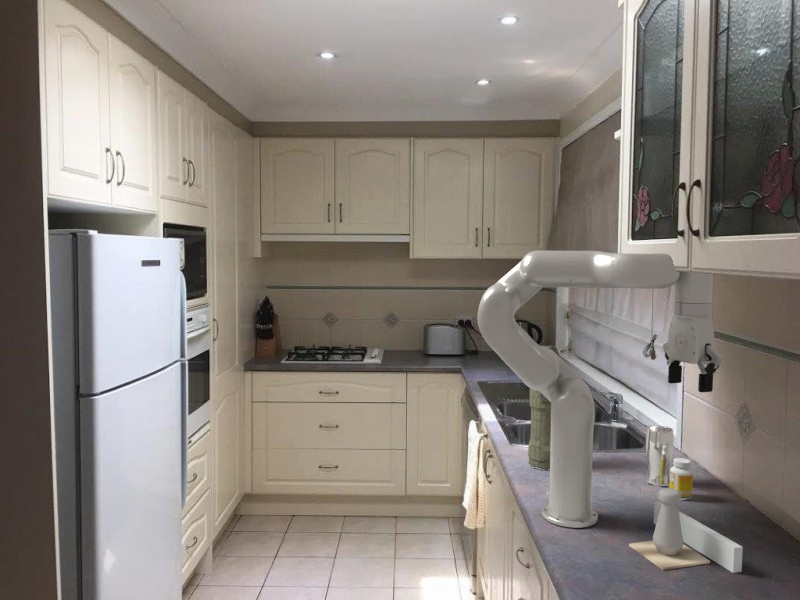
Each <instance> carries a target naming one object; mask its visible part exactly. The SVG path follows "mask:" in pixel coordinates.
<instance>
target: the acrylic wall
mask: <svg viewBox="0 0 800 600" xmlns="http://www.w3.org/2000/svg"><path fill="white" fill-rule="evenodd" d="M661 504H662V502H661V501H660V500H659V501H654V504H653V524H654V525H656V523H657V519H658V515H659V512H660V508H661ZM679 516H680V523H681V530H682V537H683V544H684V543H685V545H688V547H690V548H691V549H693V550H696V552H699V554H700V553H701V555H704V556H705V557H707V558H708V559H709V560H712V561H713V562H715V563H716V564H718V565H720V566H721V567H723V568H725V570H727V571H729V572H731V573H733V574H736V573H741V572H742V571H743V570H742V568H743V550H744V549H743V548H744V547H743V546H742V545H740V544H738V543H736V542H735V541H734V540H731V539H730V538H728V537H726V536H724V535H722V534H721V533H719V532H717V531H716V530H714V529H711V528H710V527H708V526H706V525H705V524H703V523H701V522H699V521H697V520H696V519H694V518H692V517H691V516H689V515H687V514H685V513H683V512H682V511H680V510H679Z"/></svg>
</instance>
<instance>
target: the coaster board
mask: <svg viewBox="0 0 800 600" xmlns="http://www.w3.org/2000/svg"><path fill="white" fill-rule="evenodd" d="M628 546H629V547H630V548H632V550H634V551H635V552H637V553H639V554H640V555H641V556H642V557H644V558H645V559H646V560H648V561H649V562H651V563H653V564H654V565H655V566H656V567H658V568H659V569H661V570H662V571H666V570H667V571H669V570H674V569H680V568H688V567H694V566H695V567H696V566H701V565H708V564H709V565H710V563H711V561H710V559H709V558H708V559H707V558H706V556H705V557H704V556H703V555H702V554H700V553H698V551H695V549H693V548H691V547H690V546H687V544H684V543H683V546H682V548H681V550H680V552H679V554H677V555H675V556H667V555H663V554H661V553H659V552H658V551H657V549H656V547H655V544H654V541H653V539H652V540H645V541H638V542H632V543H628Z"/></svg>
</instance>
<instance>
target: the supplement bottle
mask: <svg viewBox="0 0 800 600" xmlns="http://www.w3.org/2000/svg"><path fill="white" fill-rule="evenodd" d="M691 463H692V461H691V460H690V459H687V458H683V457H682V458H681V457H675V458H673V462H672V464H673V466H670V469H669V477H670V484H669V486H668V488H670V489H674V490H677V491H679V493H680V494H681V499H690V498H691V499H692V498H693V481H694V479H693V478H694V472H693V469H691V465H692V464H691ZM691 499H690V500H691Z"/></svg>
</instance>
